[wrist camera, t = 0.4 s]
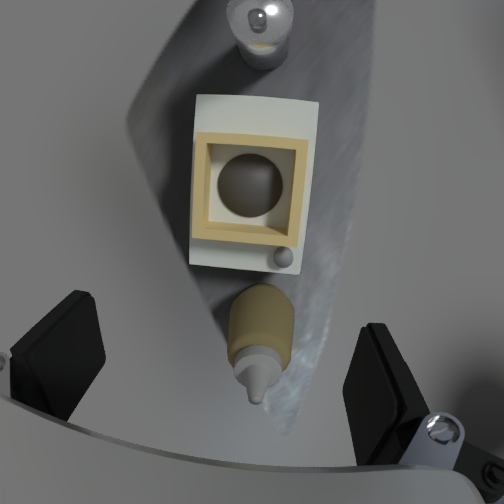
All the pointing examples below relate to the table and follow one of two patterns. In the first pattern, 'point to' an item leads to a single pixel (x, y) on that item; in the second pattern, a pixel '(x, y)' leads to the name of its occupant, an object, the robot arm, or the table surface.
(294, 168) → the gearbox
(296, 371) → the table surface
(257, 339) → the squeeze bottle
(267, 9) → the spout can
